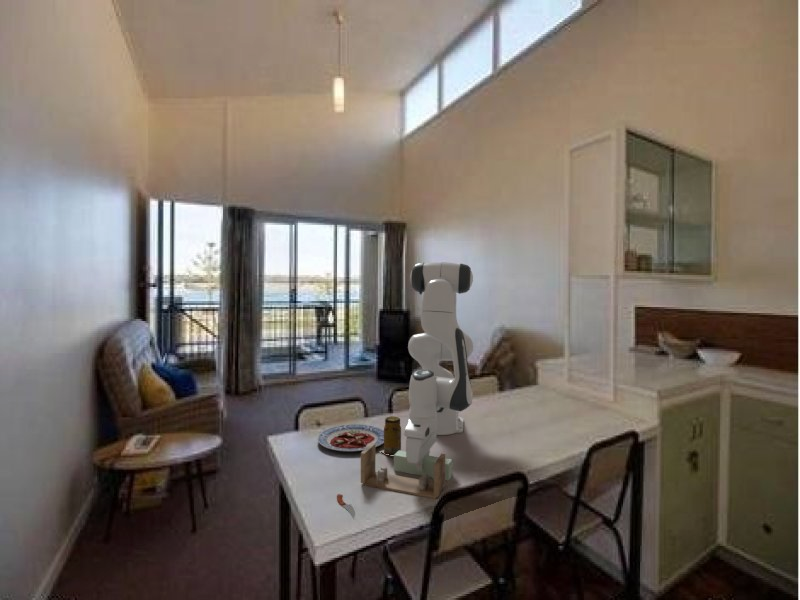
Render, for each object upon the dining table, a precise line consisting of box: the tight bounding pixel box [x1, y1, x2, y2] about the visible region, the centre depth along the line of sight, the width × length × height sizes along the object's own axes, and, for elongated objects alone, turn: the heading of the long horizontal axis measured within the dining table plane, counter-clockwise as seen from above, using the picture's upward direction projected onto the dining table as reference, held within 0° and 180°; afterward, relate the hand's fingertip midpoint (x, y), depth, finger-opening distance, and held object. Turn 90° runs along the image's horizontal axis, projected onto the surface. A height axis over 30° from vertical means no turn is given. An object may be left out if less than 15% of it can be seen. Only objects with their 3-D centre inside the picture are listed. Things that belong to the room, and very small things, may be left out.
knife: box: [336, 493, 358, 520], centre depth 116 cm, size 13×1×3 cm
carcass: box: [360, 443, 446, 500], centre depth 127 cm, size 8×24×10 cm, turn 70°
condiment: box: [378, 415, 406, 459], centre depth 151 cm, size 7×8×12 cm
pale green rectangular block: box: [393, 450, 453, 481], centre depth 136 cm, size 4×18×5 cm, turn 68°
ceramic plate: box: [317, 423, 384, 452], centre depth 161 cm, size 26×26×3 cm
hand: (422, 466), depth 136 cm, fingers closed on pale green rectangular block, 4 cm apart
